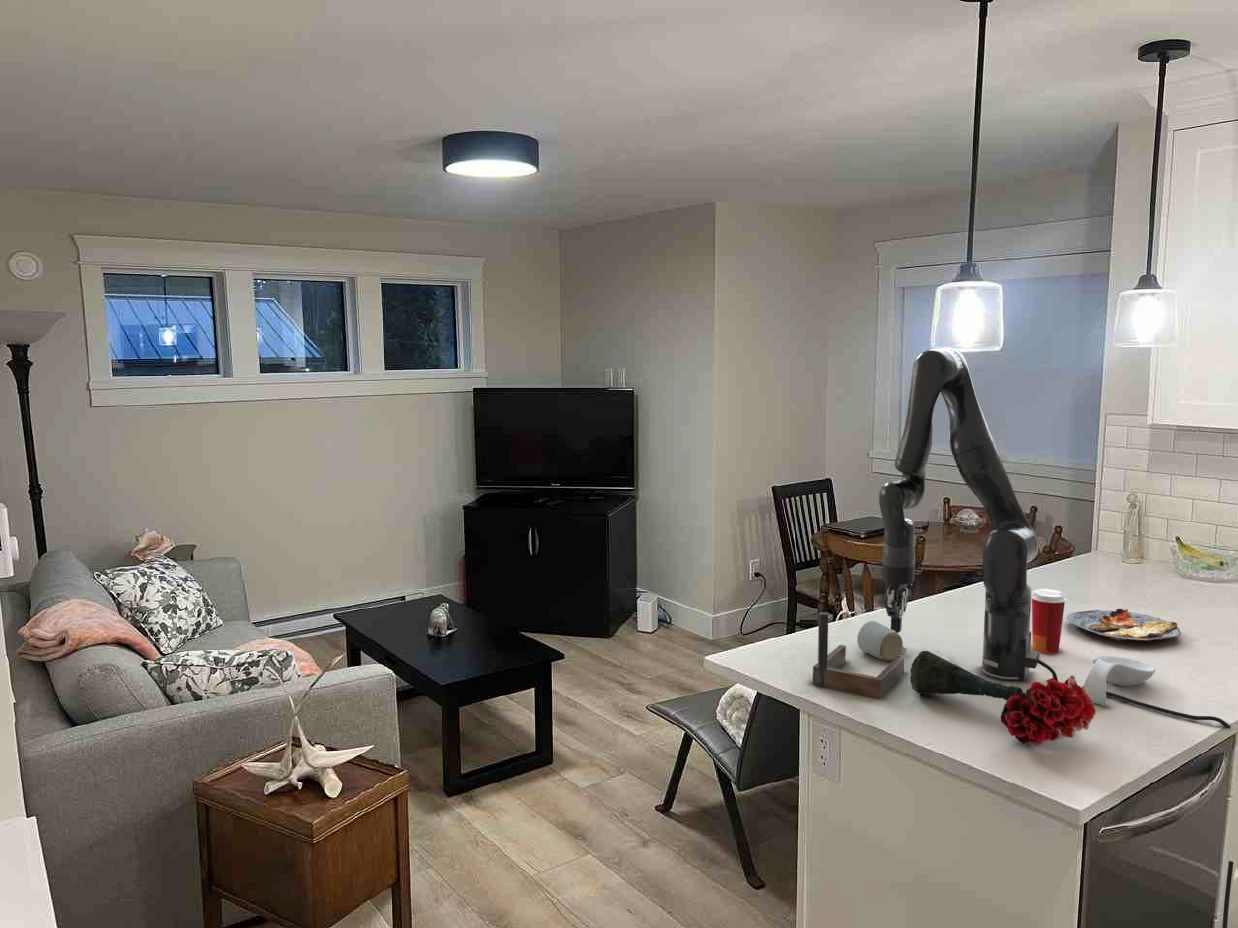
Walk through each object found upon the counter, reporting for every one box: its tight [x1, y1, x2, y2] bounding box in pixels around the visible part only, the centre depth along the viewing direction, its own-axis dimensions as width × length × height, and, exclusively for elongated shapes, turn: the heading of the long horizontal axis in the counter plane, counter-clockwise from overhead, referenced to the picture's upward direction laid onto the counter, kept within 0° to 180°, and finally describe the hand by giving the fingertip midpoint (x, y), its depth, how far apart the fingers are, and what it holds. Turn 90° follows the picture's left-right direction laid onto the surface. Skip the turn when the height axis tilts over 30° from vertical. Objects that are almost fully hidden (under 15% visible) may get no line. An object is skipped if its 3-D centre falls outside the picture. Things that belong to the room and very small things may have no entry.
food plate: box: [1065, 608, 1182, 642], centre depth 226 cm, size 25×23×4 cm
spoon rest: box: [1083, 655, 1156, 706], centre depth 190 cm, size 24×12×7 cm, turn 135°
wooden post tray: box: [812, 611, 905, 699], centre depth 196 cm, size 15×17×16 cm
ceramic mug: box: [856, 620, 907, 662], centre depth 211 cm, size 11×8×8 cm
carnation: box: [909, 650, 1097, 745], centre depth 174 cm, size 16×18×35 cm
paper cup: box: [1031, 588, 1067, 655], centre depth 213 cm, size 8×8×14 cm
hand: (895, 631), depth 219 cm, fingers closed
